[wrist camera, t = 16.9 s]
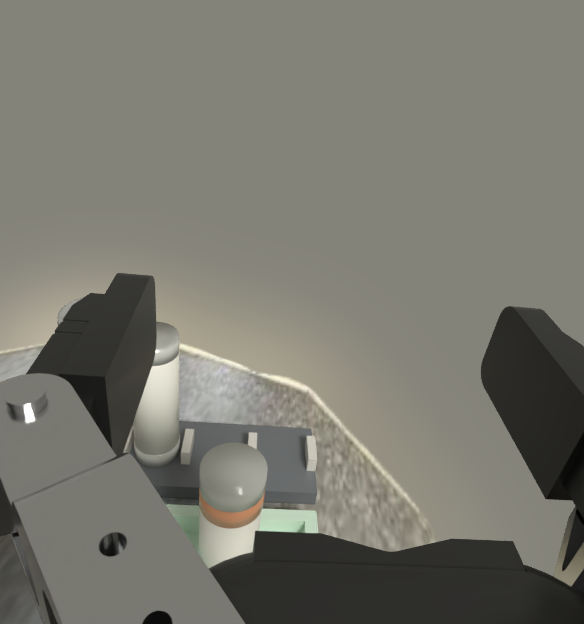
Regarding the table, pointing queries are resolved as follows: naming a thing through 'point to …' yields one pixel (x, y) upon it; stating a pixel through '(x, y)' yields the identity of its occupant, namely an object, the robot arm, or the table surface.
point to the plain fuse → (160, 404)
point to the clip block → (267, 440)
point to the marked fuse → (230, 501)
